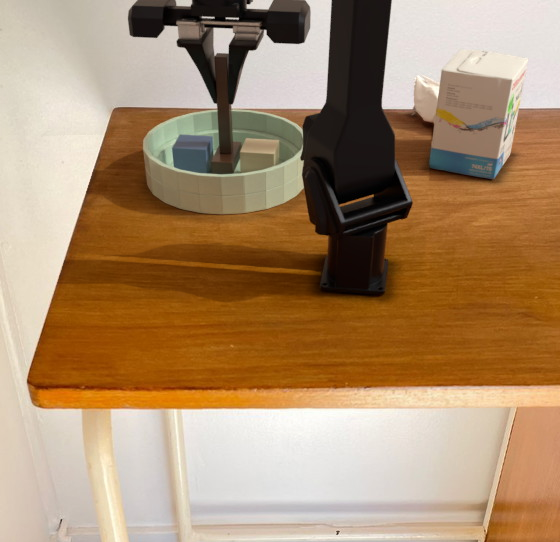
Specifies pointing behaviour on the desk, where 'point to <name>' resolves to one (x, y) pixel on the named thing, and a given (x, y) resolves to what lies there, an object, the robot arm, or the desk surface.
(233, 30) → the robot arm
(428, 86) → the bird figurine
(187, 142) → the slate block
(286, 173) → the bowl
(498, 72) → the ink box
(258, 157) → the cream block
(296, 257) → the desk surface
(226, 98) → the block-headed hammer
